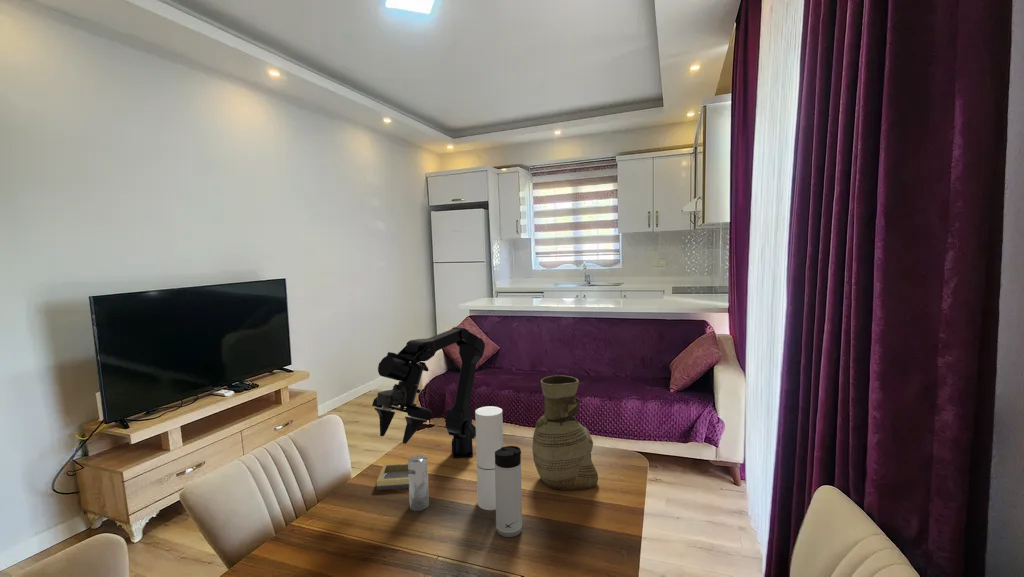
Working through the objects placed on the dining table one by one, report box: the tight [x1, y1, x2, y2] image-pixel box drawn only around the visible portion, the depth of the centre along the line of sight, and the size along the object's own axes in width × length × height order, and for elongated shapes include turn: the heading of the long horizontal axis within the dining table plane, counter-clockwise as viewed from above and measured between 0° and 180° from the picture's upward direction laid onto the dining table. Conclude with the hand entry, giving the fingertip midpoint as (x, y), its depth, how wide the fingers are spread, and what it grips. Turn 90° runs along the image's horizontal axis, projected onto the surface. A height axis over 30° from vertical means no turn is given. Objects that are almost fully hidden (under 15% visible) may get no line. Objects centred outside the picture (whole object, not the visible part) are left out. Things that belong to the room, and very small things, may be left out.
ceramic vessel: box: [531, 374, 599, 491], centre depth 123 cm, size 19×21×30 cm
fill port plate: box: [376, 462, 409, 491], centre depth 124 cm, size 10×10×3 cm
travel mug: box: [495, 445, 523, 538], centre depth 100 cm, size 6×7×20 cm
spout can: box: [407, 454, 430, 512], centre depth 110 cm, size 7×5×12 cm
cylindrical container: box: [474, 405, 504, 511], centre depth 111 cm, size 7×7×25 cm
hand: (392, 439), depth 116 cm, fingers open, 9 cm apart
